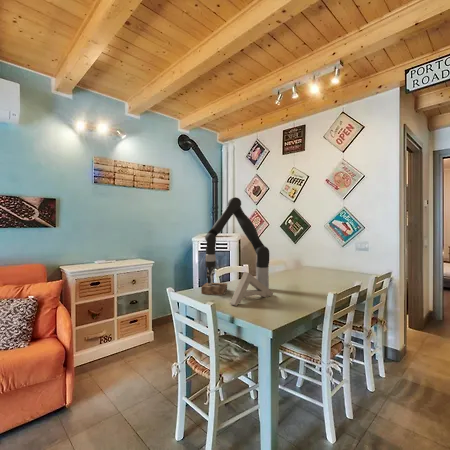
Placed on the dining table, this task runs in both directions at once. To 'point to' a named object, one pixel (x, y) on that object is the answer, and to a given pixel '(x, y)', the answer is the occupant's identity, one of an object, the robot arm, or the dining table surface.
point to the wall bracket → (243, 292)
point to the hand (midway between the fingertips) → (210, 282)
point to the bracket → (212, 282)
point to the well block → (214, 289)
